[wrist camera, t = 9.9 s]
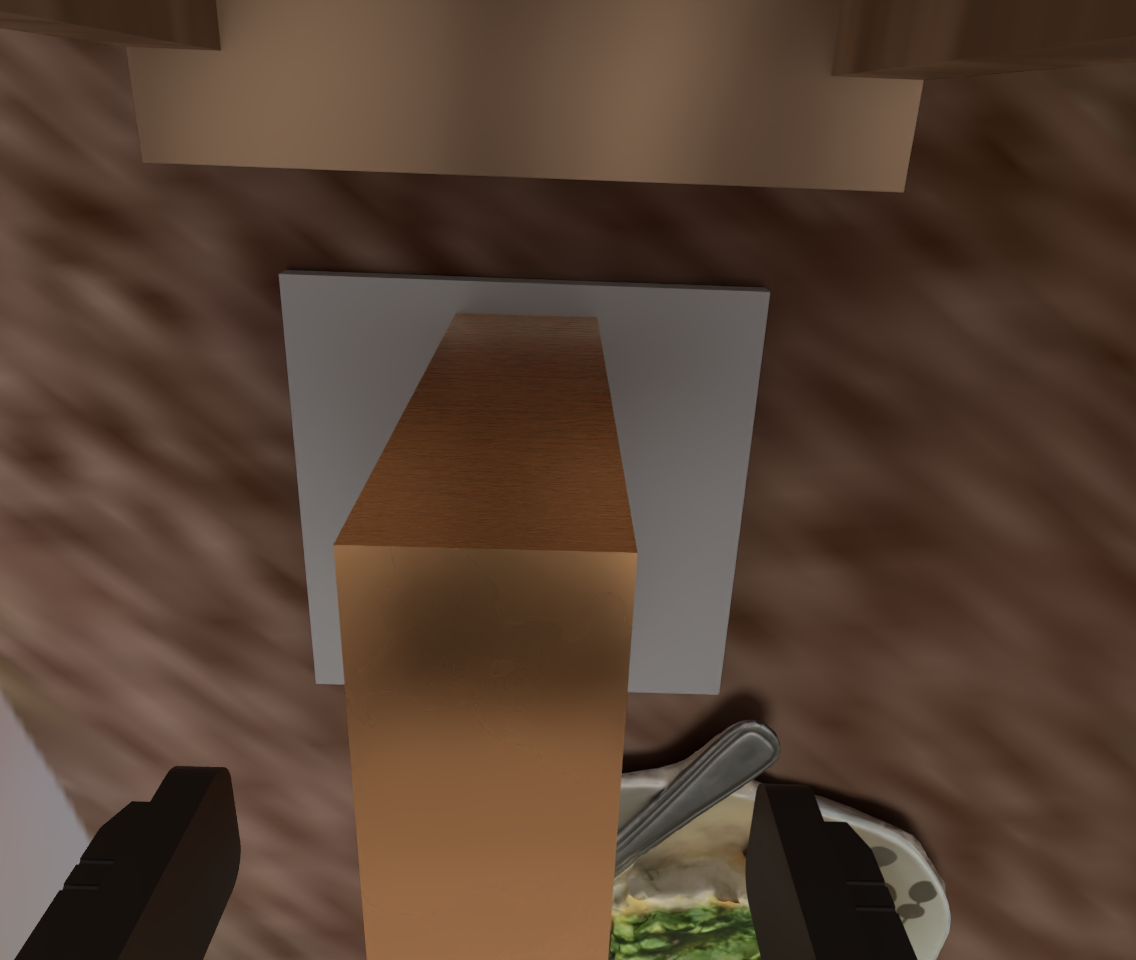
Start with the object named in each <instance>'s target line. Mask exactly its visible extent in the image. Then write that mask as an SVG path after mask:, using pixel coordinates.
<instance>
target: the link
mask: <svg viewBox="0 0 1136 960" xmlns="http://www.w3.org/2000/svg"><path fill="white" fill-rule="evenodd" d="M333 548H334V560H335V572H336V585H337V597H338V609H339V622H340V634H341V646H342V658H343V671H344V683H345V695H346V708H347V720H348V732H349V745H350V757H351V769H352V782H353V794H354V806H355V819H356V831H357V843H358V856H359V868H360V880H361V893H362V905H363V917H364V930H365V942H366V954H367V960H608V955H609V941H610V927H611V914H612V900H613V886H614V872H615V858H616V845H617V831H618V817H619V803H620V790H621V776H622V762H623V748H624V734H625V721H626V707H627V693H628V679H629V665H630V652H631V638H632V624H633V610H634V597H635V583H636V569H637V555H638V552H637V546H636V540H635V534H634V529H633V523H632V517H631V511H630V505H629V499H628V494H627V488H626V482H625V476H624V470H623V465H622V459H621V453H620V447H619V441H618V435H617V430H616V424H615V418H614V412H613V406H612V400H611V395H610V389H609V383H608V377H607V371H606V366H605V360H604V354H603V348H602V342H601V336H600V331H599V325H598V319H597V317H570V316H539V315H507V314H475V313H456V314H455V316H454V317H453V319H452V321H451V323H450V325H449V327H448V329H447V331H446V333H445V334H444V336H443V338H442V340H441V342H440V344H439V346H438V348H437V350H436V351H435V353H434V355H433V357H432V359H431V361H430V363H429V365H428V367H427V368H426V370H425V372H424V374H423V376H422V378H421V380H420V382H419V384H418V386H417V387H416V389H415V391H414V393H413V395H412V397H411V399H410V401H409V403H408V404H407V406H406V408H405V410H404V412H403V414H402V416H401V418H400V420H399V421H398V423H397V425H396V427H395V429H394V431H393V433H392V435H391V437H390V438H389V440H388V442H387V444H386V446H385V448H384V450H383V452H382V454H381V455H380V457H379V459H378V461H377V463H376V465H375V467H374V469H373V471H372V472H371V474H370V476H369V478H368V480H367V482H366V484H365V486H364V488H363V490H362V491H361V493H360V495H359V497H358V499H357V501H356V503H355V505H354V507H353V508H352V510H351V512H350V514H349V516H348V518H347V520H346V522H345V524H344V525H343V527H342V529H341V531H340V533H339V535H338V537H337V539H336V541H335V542H334V544H333Z"/></svg>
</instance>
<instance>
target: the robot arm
mask: <svg viewBox="0 0 1136 960" xmlns="http://www.w3.org/2000/svg"><path fill="white" fill-rule="evenodd" d="M240 853H241V845H240V837H239V830H238V823H237V816H236V809H235V802H234V795H233V789H232V782H231V776H230V773H229V771H228V769H227V768H225V767H193V766H175V767H173V768H172V769H171V770H170V771H169V772H168V773H167V775H166V776H165V778H164V780H163V781H162V783H161V785H160V786H159V788H158V790H157V791H156V793H155V795H154V796H153V798H152V800H151V801H150V802H134V801H132V802H131V803H129V804H128V805H127V806H126V807H125V808H123V809H122V810H121V811H120V812H119V813H117V814H116V815H115V816H114V817H113V818H111V819H110V820H109V821H108V822H107V823H105V824H104V825H103V826H102V827H101V828H100V829H99V830H98V832H97V834H96V835H95V837H94V838H93V840H92V841H91V843H90V844H89V846H88V847H87V849H86V850H85V852H84V853H83V855H82V857H81V858H80V863H79V865H76V866H75V867H74V869H73V871H72V872H71V873H70V875H69V877H68V878H67V880H66V881H65V883H64V887H63V890H60V891H59V892H58V893H57V895H56V897H55V898H54V899H53V901H52V903H51V904H50V906H49V907H48V909H47V910H46V912H45V914H44V915H43V916H42V918H41V920H40V921H39V922H38V924H37V926H36V927H35V929H34V930H33V932H32V933H31V935H30V936H29V938H28V939H27V941H26V942H25V944H24V946H23V947H22V949H21V950H20V952H19V953H18V955H17V956H16V958H15V959H14V960H203V958H204V956H205V953H206V951H207V949H208V946H209V944H210V942H211V939H212V937H213V935H214V932H215V930H216V928H217V926H218V923H219V921H220V919H221V916H222V914H223V912H224V909H225V907H226V905H227V902H228V900H229V898H230V895H231V893H232V891H233V888H234V885H235V882H236V879H237V875H238V870H239V864H240ZM745 878H746V891H747V898H748V904H749V908H750V913H751V917H752V921H753V926H754V930H755V934H756V939H757V943H758V947H759V952H760V956H761V960H918V959H917V957H916V954H915V952H914V950H913V947H912V945H911V942H910V940H909V938H908V935H907V933H906V930H905V928H904V926H903V923H902V921H901V918H900V916H899V914H898V913H896V910H895V907H896V906H895V904H894V902H893V899H892V897H891V894H890V892H889V890H888V887H885V880H884V878H883V875H882V873H881V870H880V868H879V866H878V863H877V861H876V858H875V856H874V853H873V851H872V849H871V848H870V847H869V846H868V845H867V844H866V843H865V841H864V840H863V839H862V838H861V837H860V836H859V835H858V834H857V833H856V832H855V830H854V829H853V828H852V827H851V826H850V825H849V824H848V823H847V822H832V821H824V820H823V817H822V814H821V811H820V809H819V806H818V803H817V800H816V798H815V795H814V792H813V790H812V788H811V787H810V786H809V785H803V784H765V783H761V784H759V785H758V787H757V790H756V796H755V802H754V809H753V815H752V822H751V828H750V835H749V841H748V848H747V854H746V864H745Z"/></svg>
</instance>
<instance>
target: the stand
mask: <svg viewBox="0 0 1136 960" xmlns="http://www.w3.org/2000/svg"><path fill="white" fill-rule="evenodd" d="M0 28H4V29H11V30H17V31H24V32H31V33H37V34H44V35H51V36H57V37H64V38H71V39H77V40H84V41H91V42H97V43H104V44H111V45H117V46H124V47H126V52H127V59H128V66H129V73H130V80H131V87H132V94H133V101H134V108H135V115H136V122H137V128H138V135H139V142H140V149H141V156H142V163H167V164H193V165H218V166H244V167H269V168H295V169H321V170H346V171H372V172H397V173H423V174H449V175H474V176H500V177H525V178H551V179H576V180H602V181H628V182H653V183H679V184H704V185H730V186H755V187H781V188H807V189H832V190H858V191H883V192H904V187H905V182H906V176H907V171H908V165H909V159H910V154H911V148H912V143H913V137H914V131H915V126H916V120H917V115H918V109H919V104H920V98H921V92H922V87H923V81H924V80H930V79H942V78H953V77H964V76H975V75H987V74H998V73H1009V72H1020V71H1032V70H1043V69H1054V68H1065V67H1077V66H1088V65H1099V64H1110V63H1122V62H1133V61H1136V0H0Z"/></svg>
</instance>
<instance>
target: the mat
mask: <svg viewBox="0 0 1136 960" xmlns="http://www.w3.org/2000/svg"><path fill="white" fill-rule="evenodd" d="M279 283H280V294H281V305H282V316H283V327H284V338H285V349H286V360H287V371H288V382H289V393H290V404H291V414H292V425H293V436H294V447H295V458H296V469H297V480H298V491H299V502H300V513H301V524H302V535H303V546H304V557H305V568H306V579H307V590H308V601H309V612H310V623H311V634H312V644H313V655H314V666H315V677H316V684H345V683H344V671H343V658H342V646H341V634H340V622H339V609H338V597H337V585H336V572H335V560H334V548H333V544H334V542H335V541H336V539H337V537H338V535H339V533H340V531H341V529H342V527H343V525H344V524H345V522H346V520H347V518H348V516H349V514H350V512H351V510H352V508H353V507H354V505H355V503H356V501H357V499H358V497H359V495H360V493H361V491H362V490H363V488H364V486H365V484H366V482H367V480H368V478H369V476H370V474H371V472H372V471H373V469H374V467H375V465H376V463H377V461H378V459H379V457H380V455H381V454H382V452H383V450H384V448H385V446H386V444H387V442H388V440H389V438H390V437H391V435H392V433H393V431H394V429H395V427H396V425H397V423H398V421H399V420H400V418H401V416H402V414H403V412H404V410H405V408H406V406H407V404H408V403H409V401H410V399H411V397H412V395H413V393H414V391H415V389H416V387H417V386H418V384H419V382H420V380H421V378H422V376H423V374H424V372H425V370H426V368H427V367H428V365H429V363H430V361H431V359H432V357H433V355H434V353H435V351H436V350H437V348H438V346H439V344H440V342H441V340H442V338H443V336H444V334H445V333H446V331H447V329H448V327H449V325H450V323H451V321H452V319H453V317H454V316H455V314H456V313H475V314H507V315H539V316H570V317H597V319H598V325H599V331H600V336H601V342H602V348H603V354H604V360H605V366H606V371H607V377H608V383H609V389H610V395H611V400H612V406H613V412H614V418H615V424H616V430H617V435H618V441H619V447H620V453H621V459H622V465H623V470H624V476H625V482H626V488H627V494H628V499H629V505H630V511H631V517H632V523H633V529H634V534H635V540H636V546H637V552H638V555H637V569H636V583H635V597H634V610H633V624H632V638H631V652H630V665H629V679H628V692H641V693H678V694H715V695H719V690H720V682H721V674H722V666H723V658H724V651H725V643H726V635H727V627H728V619H729V611H730V604H731V596H732V588H733V580H734V572H735V564H736V557H737V549H738V541H739V533H740V525H741V517H742V510H743V502H744V494H745V486H746V478H747V470H748V463H749V455H750V447H751V439H752V431H753V423H754V416H755V408H756V400H757V392H758V384H759V376H760V369H761V361H762V353H763V345H764V337H765V329H766V322H767V314H768V306H769V298H770V291H768V290H767V289H766V288H765V287H738V286H710V285H683V284H656V283H629V282H601V281H574V280H547V279H520V278H492V277H465V276H438V275H411V274H383V273H356V272H329V271H302V270H285V271H283V272H281V273H280V274H279Z"/></svg>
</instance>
